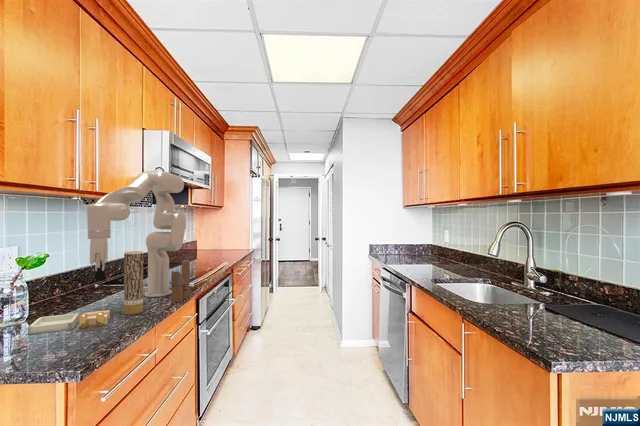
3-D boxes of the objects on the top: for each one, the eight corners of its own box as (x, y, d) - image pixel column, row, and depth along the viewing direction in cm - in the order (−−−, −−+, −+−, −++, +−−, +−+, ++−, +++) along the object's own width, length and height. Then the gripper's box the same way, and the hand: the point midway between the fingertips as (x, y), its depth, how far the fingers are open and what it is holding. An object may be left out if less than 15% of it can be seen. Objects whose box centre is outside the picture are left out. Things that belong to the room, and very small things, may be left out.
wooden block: (171, 302, 151) (171, 263, 151) (184, 296, 162) (184, 259, 162) (178, 302, 151) (179, 263, 151) (191, 296, 161) (191, 260, 161)
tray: (39, 324, 120) (39, 317, 120) (79, 319, 126) (79, 313, 126) (27, 334, 110) (27, 327, 110) (71, 329, 115) (71, 322, 115)
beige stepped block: (85, 321, 124) (85, 312, 124) (109, 318, 128) (109, 310, 128) (79, 329, 116) (79, 319, 116) (106, 326, 120) (106, 316, 120)
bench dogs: (78, 328, 116) (78, 314, 116) (105, 325, 119) (105, 311, 119) (75, 332, 112) (75, 318, 112) (103, 329, 115) (103, 314, 115)
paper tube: (125, 311, 136) (125, 251, 136) (143, 309, 139) (144, 250, 139) (122, 316, 130) (122, 253, 130) (141, 314, 132) (141, 252, 133)
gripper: (91, 233, 134) (92, 277, 135) (83, 237, 121) (85, 286, 122) (112, 232, 138) (114, 275, 138) (107, 236, 124) (109, 283, 125)
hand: (100, 280), depth 130 cm, fingers closed
